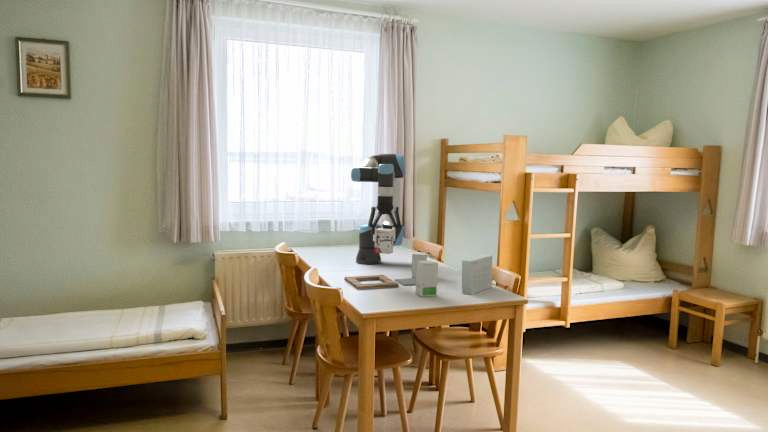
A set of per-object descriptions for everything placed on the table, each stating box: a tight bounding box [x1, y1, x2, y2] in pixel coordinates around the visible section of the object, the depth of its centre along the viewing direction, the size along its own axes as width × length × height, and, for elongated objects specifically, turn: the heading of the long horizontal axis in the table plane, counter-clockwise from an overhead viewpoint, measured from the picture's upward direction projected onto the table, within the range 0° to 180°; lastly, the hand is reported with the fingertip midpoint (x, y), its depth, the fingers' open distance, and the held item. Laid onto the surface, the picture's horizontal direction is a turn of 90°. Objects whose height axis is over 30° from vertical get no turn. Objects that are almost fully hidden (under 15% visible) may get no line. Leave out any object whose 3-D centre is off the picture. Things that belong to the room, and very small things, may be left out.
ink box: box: [374, 228, 394, 255], centre depth 267 cm, size 9×5×12 cm, turn 69°
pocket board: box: [344, 274, 399, 291], centre depth 267 cm, size 21×21×2 cm
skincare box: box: [415, 260, 439, 298], centre depth 247 cm, size 8×7×16 cm
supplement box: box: [410, 251, 428, 278], centre depth 285 cm, size 7×7×13 cm
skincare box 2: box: [461, 254, 493, 296], centre depth 259 cm, size 21×6×16 cm, turn 141°
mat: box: [394, 277, 416, 287], centre depth 272 cm, size 12×12×1 cm
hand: (384, 240), depth 267 cm, fingers closed on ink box, 9 cm apart
